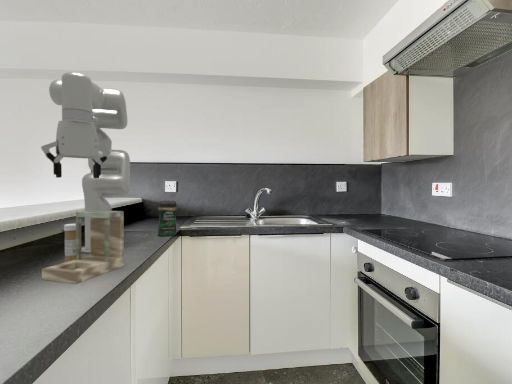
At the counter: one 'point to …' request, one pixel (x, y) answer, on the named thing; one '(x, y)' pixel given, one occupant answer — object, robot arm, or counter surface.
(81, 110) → the robot arm
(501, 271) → the counter surface
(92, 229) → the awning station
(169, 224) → the coffee jar
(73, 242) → the sprinkles bottle
